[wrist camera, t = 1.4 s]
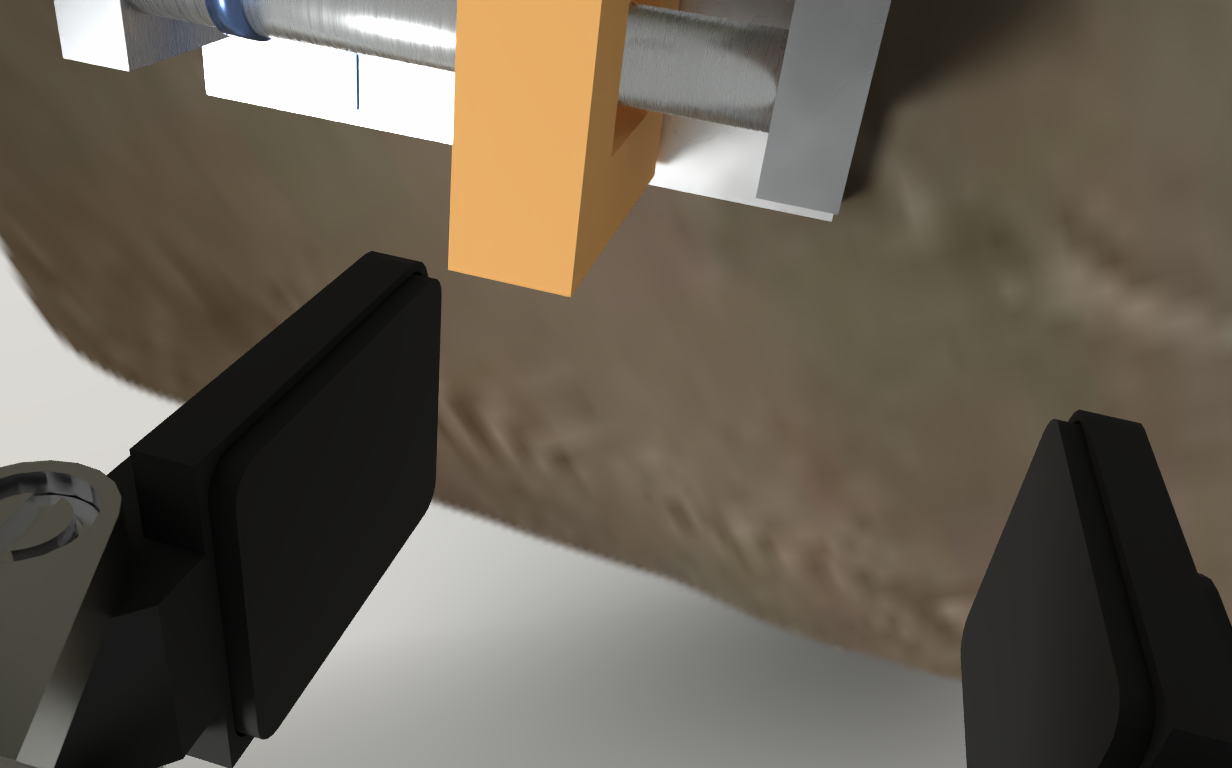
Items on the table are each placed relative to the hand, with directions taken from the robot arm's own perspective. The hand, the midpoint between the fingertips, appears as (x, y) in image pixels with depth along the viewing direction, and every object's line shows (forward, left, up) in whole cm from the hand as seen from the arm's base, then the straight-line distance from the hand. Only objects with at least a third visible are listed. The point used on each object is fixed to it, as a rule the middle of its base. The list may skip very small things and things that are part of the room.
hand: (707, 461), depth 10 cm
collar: (+6, 0, -21) cm, 21 cm away
